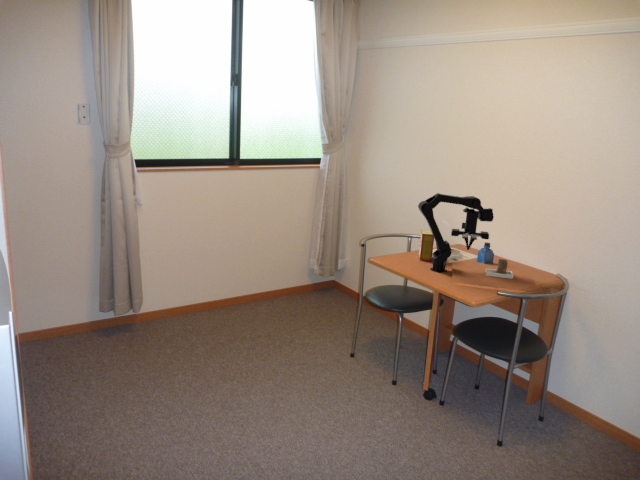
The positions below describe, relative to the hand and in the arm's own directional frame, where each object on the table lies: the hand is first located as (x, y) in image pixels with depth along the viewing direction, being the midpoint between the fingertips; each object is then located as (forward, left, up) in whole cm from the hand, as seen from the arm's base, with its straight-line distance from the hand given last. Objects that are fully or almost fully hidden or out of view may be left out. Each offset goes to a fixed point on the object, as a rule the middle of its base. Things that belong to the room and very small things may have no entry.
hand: (467, 249), depth 254 cm
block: (+8, -16, -11) cm, 21 cm away
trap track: (+8, -15, -12) cm, 21 cm away
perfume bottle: (+22, +4, -12) cm, 25 cm away
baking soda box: (-2, +27, -12) cm, 30 cm away
